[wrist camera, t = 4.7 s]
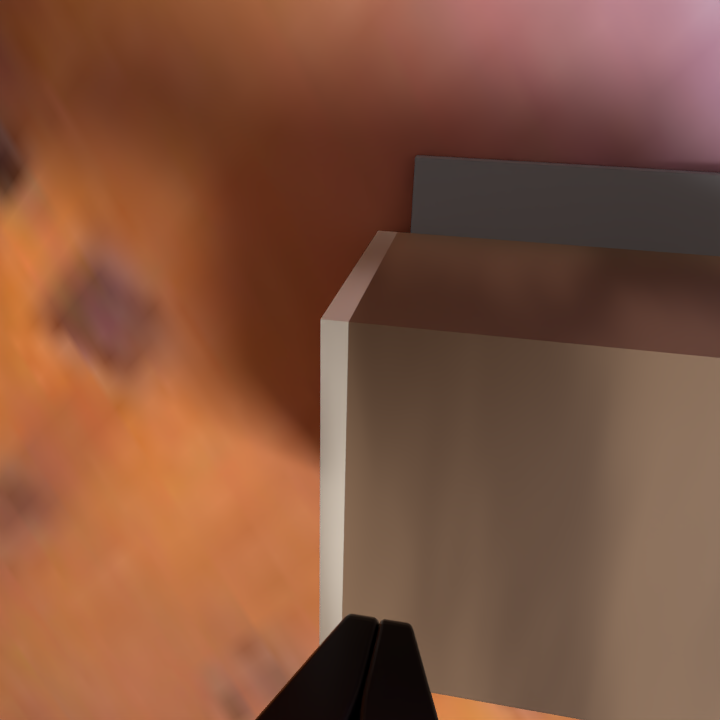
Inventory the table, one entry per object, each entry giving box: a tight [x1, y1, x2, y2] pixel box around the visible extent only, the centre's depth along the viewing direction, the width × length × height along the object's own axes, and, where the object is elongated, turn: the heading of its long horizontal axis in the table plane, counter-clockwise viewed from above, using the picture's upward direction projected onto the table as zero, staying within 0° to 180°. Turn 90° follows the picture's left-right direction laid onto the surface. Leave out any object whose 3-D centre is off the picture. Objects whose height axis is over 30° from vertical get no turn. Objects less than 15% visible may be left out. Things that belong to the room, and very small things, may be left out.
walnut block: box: [320, 231, 720, 720], centre depth 13 cm, size 5×7×9 cm
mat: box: [411, 155, 720, 256], centre depth 15 cm, size 10×10×1 cm
